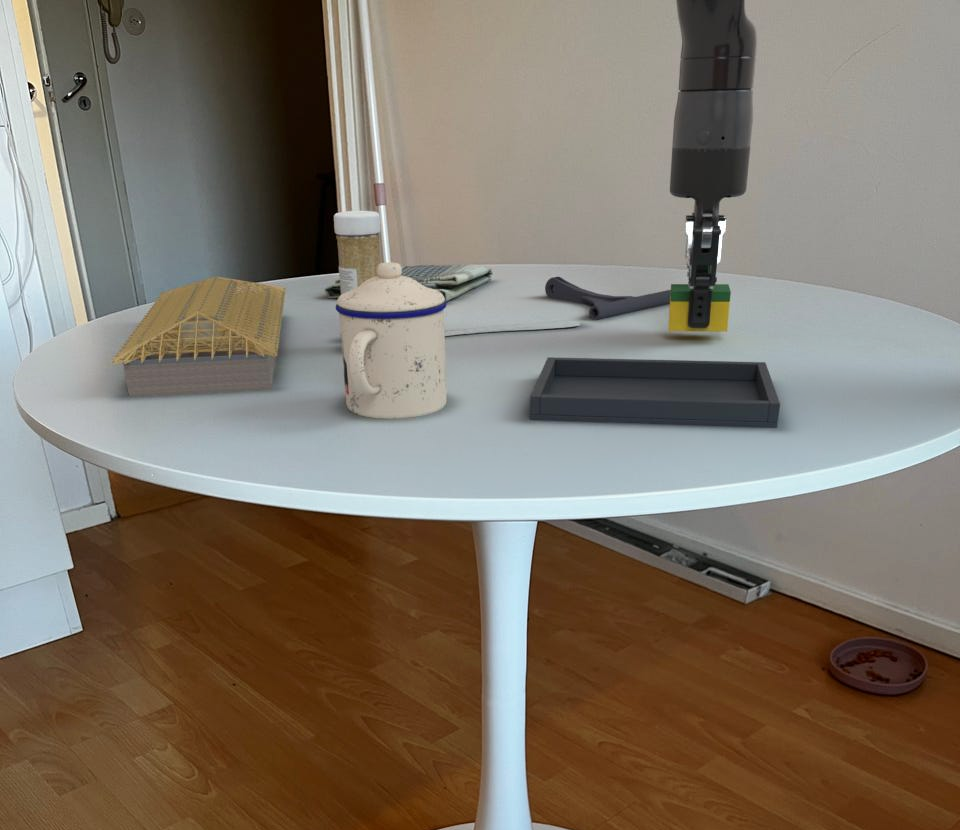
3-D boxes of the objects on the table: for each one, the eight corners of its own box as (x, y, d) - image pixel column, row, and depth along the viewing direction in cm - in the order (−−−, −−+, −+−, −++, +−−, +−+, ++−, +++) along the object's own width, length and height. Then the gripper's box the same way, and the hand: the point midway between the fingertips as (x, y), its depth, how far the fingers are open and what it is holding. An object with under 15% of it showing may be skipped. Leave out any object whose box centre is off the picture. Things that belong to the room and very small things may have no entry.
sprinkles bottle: (391, 353, 104) (383, 213, 98) (348, 356, 103) (337, 215, 97) (383, 343, 108) (374, 208, 102) (341, 347, 107) (330, 210, 101)
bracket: (585, 290, 135) (585, 268, 133) (675, 304, 125) (676, 280, 124) (509, 306, 126) (508, 283, 125) (599, 322, 117) (600, 297, 115)
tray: (762, 385, 91) (765, 362, 90) (776, 430, 79) (780, 403, 78) (547, 379, 94) (547, 357, 93) (529, 421, 82) (530, 396, 81)
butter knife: (584, 324, 112) (576, 317, 115) (342, 343, 107) (339, 335, 110) (584, 329, 112) (576, 322, 115) (343, 348, 108) (340, 340, 110)
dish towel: (378, 277, 147) (376, 254, 145) (495, 282, 142) (494, 258, 140) (321, 300, 131) (319, 274, 130) (450, 306, 126) (450, 279, 125)
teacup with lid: (371, 389, 92) (362, 253, 86) (464, 397, 89) (461, 257, 83) (308, 426, 82) (293, 276, 76) (410, 436, 79) (402, 281, 74)
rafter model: (281, 393, 91) (273, 323, 88) (117, 402, 89) (104, 331, 86) (288, 317, 121) (283, 264, 119) (166, 323, 120) (157, 269, 117)
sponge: (725, 323, 108) (728, 284, 106) (727, 331, 104) (730, 291, 102) (668, 322, 109) (671, 284, 107) (668, 331, 105) (671, 291, 103)
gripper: (756, 145, 92) (737, 337, 100) (745, 139, 104) (730, 310, 112) (672, 147, 93) (661, 336, 101) (672, 140, 105) (662, 309, 113)
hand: (697, 321), depth 106 cm, fingers closed on sponge, 4 cm apart
